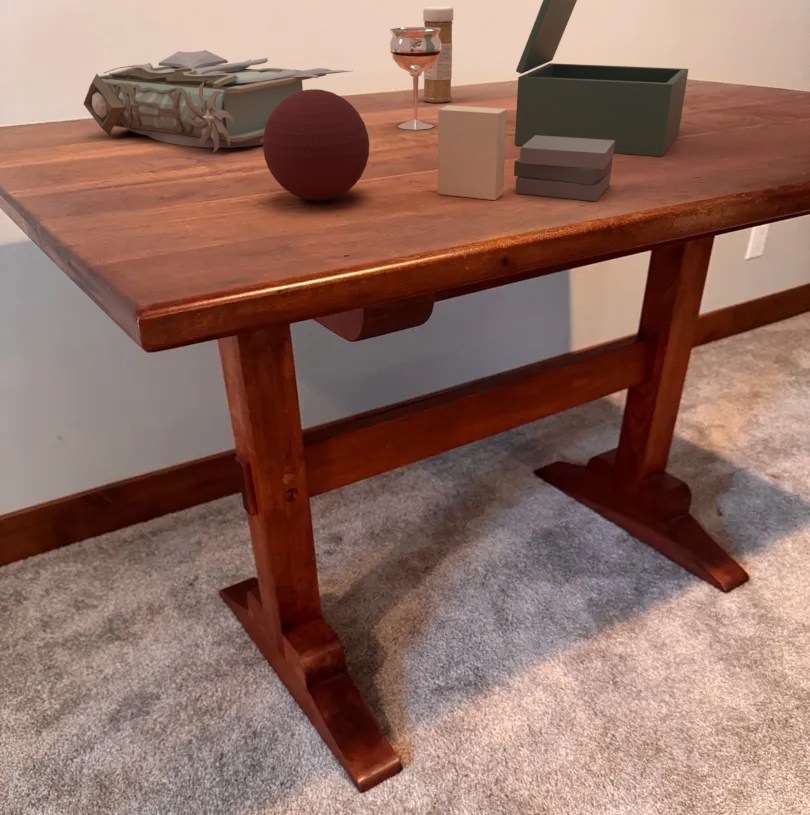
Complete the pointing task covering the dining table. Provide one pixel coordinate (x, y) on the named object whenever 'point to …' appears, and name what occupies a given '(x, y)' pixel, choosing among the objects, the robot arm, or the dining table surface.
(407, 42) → the wineglass
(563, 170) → the grey books
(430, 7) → the sprinkles bottle
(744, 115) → the dining table surface
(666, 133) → the chest
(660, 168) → the dining table surface
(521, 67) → the lid
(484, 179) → the cream book
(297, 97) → the decorative ball
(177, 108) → the ornate book
